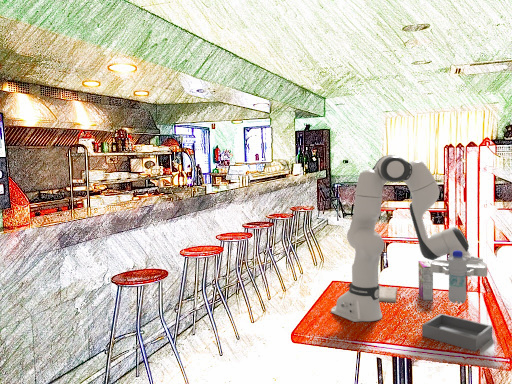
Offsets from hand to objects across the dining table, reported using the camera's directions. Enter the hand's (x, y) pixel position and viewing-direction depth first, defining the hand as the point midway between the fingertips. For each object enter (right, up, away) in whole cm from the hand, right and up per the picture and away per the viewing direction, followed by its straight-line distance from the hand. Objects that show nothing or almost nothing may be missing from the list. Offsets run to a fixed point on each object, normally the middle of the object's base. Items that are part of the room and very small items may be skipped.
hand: (457, 273), depth 172 cm
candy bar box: (+6, -20, +50) cm, 54 cm away
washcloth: (-13, -21, +53) cm, 58 cm away
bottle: (+1, -11, +2) cm, 12 cm away
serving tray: (+1, -25, +3) cm, 25 cm away
